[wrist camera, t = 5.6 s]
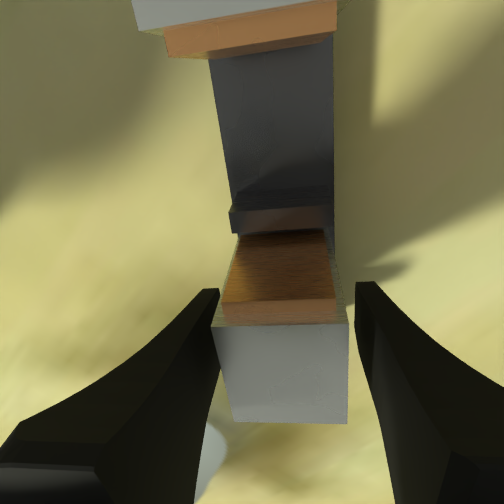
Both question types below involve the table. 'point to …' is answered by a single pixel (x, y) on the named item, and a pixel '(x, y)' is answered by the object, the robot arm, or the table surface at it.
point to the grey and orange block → (284, 329)
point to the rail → (264, 100)
